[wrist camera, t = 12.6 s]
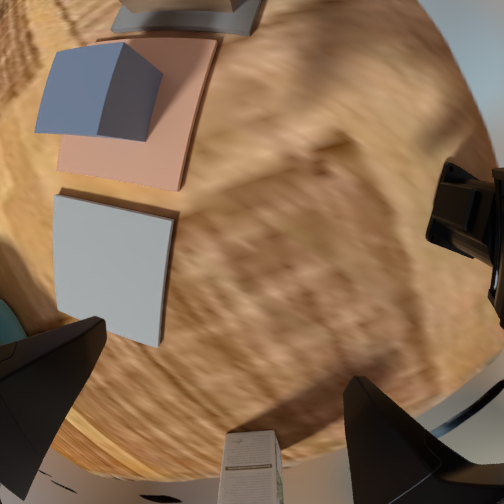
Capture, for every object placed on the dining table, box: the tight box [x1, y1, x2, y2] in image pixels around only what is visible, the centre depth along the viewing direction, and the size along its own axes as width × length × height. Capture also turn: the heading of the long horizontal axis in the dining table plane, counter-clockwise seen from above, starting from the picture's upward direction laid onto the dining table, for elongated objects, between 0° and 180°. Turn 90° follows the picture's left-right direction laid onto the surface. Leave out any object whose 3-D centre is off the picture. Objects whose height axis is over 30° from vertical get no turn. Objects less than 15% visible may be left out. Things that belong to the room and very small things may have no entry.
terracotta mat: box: [57, 38, 218, 192], centre depth 16 cm, size 11×11×1 cm
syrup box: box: [218, 430, 283, 504], centre depth 19 cm, size 6×6×14 cm
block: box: [34, 42, 163, 142], centre depth 12 cm, size 5×5×6 cm
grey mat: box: [53, 194, 174, 348], centre depth 19 cm, size 11×11×1 cm
